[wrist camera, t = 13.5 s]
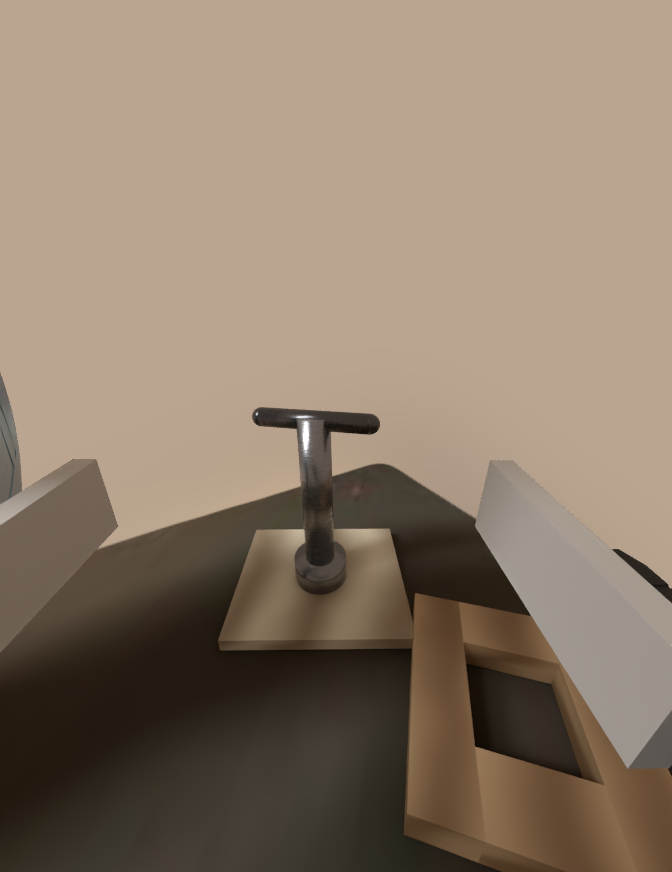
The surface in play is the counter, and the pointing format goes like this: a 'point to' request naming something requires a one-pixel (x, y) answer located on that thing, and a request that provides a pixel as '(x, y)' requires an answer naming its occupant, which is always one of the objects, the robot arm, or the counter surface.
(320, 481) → the chuck key
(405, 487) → the counter surface
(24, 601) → the robot arm
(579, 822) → the holder block
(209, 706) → the counter surface
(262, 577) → the birch board
